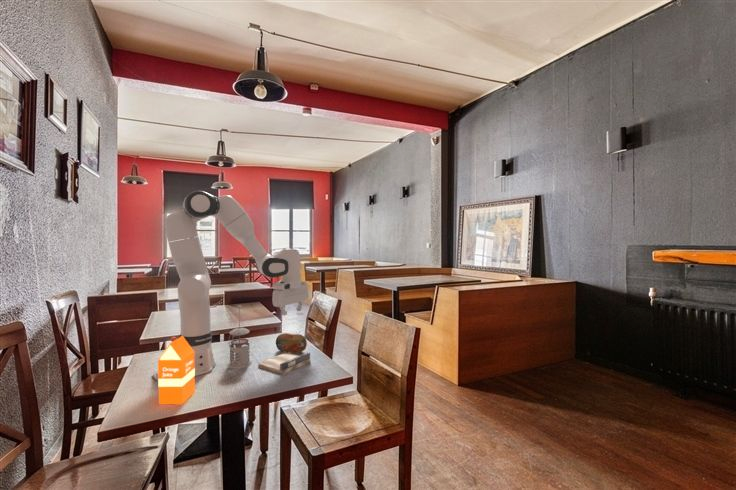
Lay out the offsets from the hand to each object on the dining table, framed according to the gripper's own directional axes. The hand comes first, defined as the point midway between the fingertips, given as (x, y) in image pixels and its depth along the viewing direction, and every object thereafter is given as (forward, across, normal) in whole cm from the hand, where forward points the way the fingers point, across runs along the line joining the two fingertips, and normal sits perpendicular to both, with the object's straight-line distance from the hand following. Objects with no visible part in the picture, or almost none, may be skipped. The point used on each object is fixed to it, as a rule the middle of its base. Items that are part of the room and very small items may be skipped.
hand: (291, 312), depth 163 cm
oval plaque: (+18, 0, 0) cm, 18 cm away
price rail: (+17, +13, +15) cm, 26 cm away
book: (+18, +13, +9) cm, 24 cm away
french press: (+18, +23, -8) cm, 31 cm away
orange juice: (+18, +54, +1) cm, 57 cm away
